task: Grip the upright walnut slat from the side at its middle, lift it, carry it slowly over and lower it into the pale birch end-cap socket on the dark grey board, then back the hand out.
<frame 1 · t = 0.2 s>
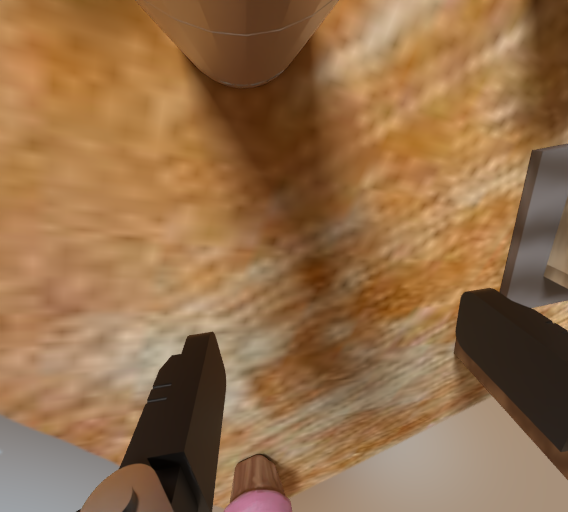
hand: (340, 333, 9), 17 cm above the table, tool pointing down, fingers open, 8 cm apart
walnut slat: (474, 337, 35), on the table
cupcake: (256, 461, 41), on the table
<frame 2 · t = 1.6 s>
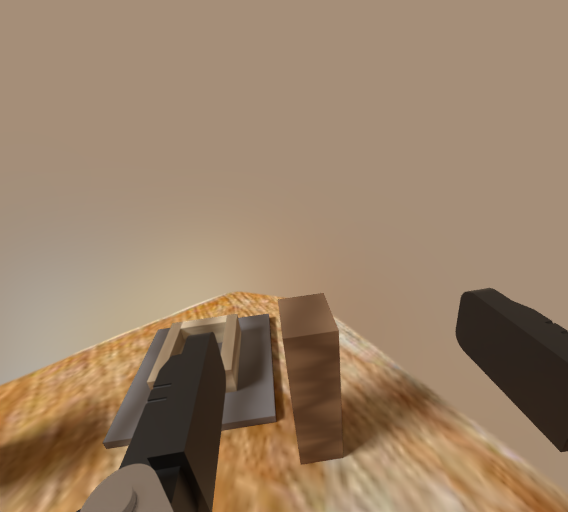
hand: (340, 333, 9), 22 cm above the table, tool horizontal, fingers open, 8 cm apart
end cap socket: (206, 369, 38), on the table
walnut slat: (316, 434, 28), on the table
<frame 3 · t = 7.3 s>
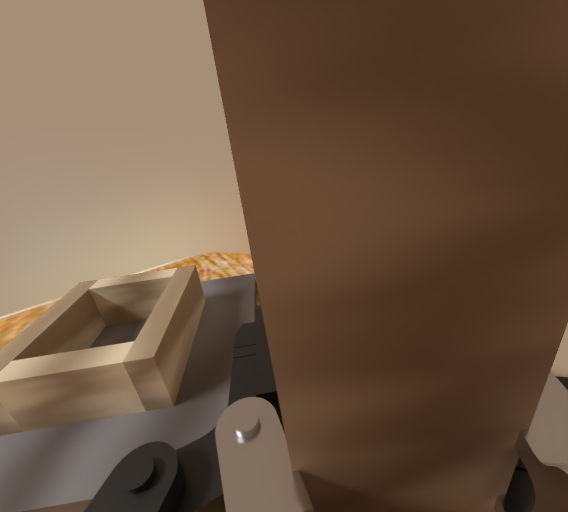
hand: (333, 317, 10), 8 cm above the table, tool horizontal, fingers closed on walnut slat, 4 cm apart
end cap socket: (131, 362, 20), on the table
when the fingers open (10 cm above the table, at t = 16.5 s): walnut slat drops 1 cm, resting on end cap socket.
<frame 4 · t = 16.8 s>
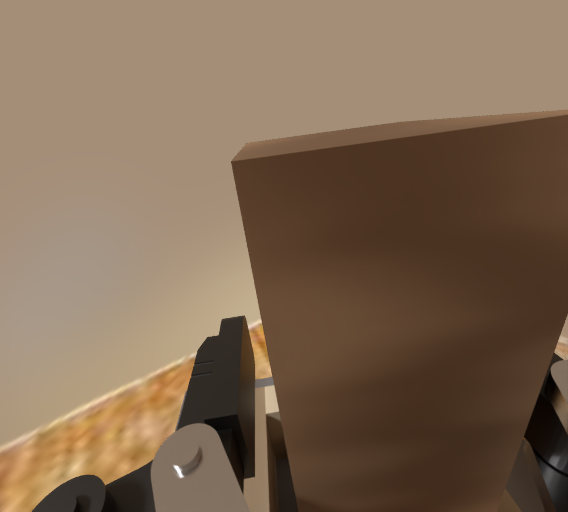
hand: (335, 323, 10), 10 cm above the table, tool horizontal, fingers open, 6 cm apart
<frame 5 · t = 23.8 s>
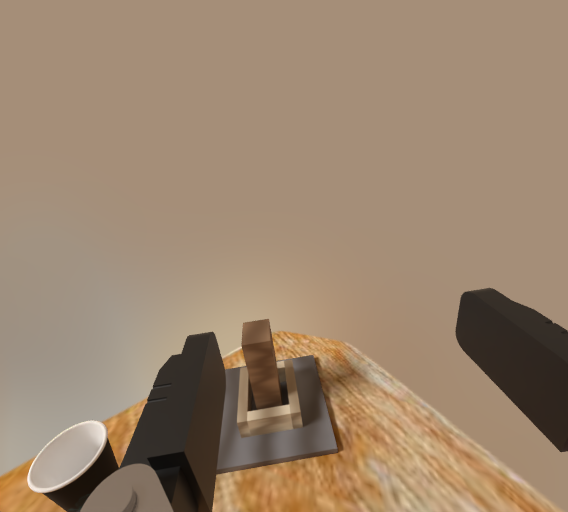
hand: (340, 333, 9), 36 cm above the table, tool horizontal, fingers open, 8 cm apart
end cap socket: (271, 406, 47), on the table
walnut slat: (270, 402, 47), point 1 cm above the table, touching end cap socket
dixie cup: (105, 503, 38), on the table
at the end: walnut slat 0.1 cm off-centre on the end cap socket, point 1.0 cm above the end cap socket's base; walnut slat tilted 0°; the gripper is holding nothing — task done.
